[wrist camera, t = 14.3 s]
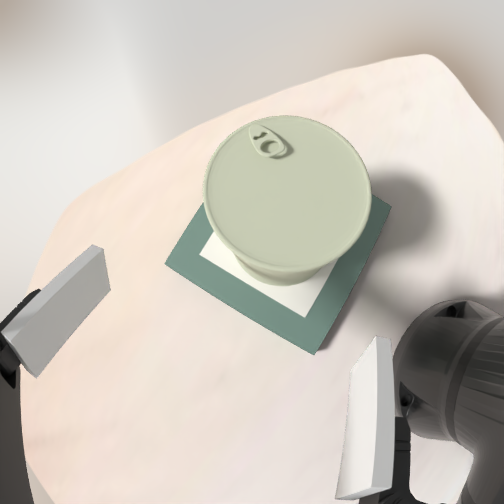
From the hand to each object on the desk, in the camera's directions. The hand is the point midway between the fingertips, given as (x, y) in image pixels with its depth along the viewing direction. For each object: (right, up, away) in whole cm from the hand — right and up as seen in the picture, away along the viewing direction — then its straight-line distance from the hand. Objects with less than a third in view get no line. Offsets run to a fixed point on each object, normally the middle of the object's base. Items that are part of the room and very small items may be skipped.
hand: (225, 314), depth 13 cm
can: (+4, +4, +14) cm, 15 cm away
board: (+4, +4, +15) cm, 16 cm away
